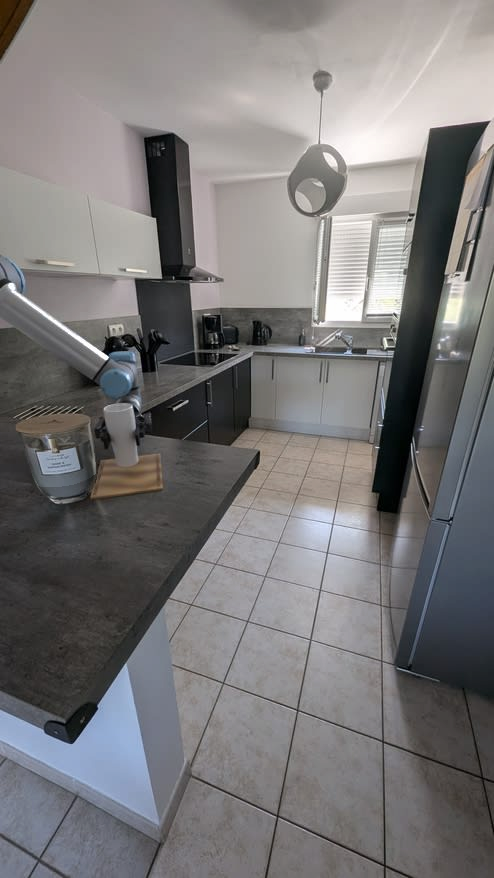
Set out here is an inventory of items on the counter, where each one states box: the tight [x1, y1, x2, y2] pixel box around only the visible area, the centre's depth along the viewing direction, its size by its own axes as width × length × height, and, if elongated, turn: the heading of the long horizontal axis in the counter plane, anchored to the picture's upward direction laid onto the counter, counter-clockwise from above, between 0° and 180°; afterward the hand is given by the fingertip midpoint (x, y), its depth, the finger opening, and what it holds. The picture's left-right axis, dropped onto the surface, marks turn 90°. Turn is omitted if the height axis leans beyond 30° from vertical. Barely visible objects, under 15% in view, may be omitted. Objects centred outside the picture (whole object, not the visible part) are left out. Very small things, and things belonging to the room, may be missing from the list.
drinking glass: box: [102, 403, 139, 468], centre depth 87 cm, size 7×7×15 cm
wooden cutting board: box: [89, 453, 164, 501], centre depth 91 cm, size 20×16×1 cm
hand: (121, 442), depth 82 cm, fingers closed on drinking glass, 6 cm apart
